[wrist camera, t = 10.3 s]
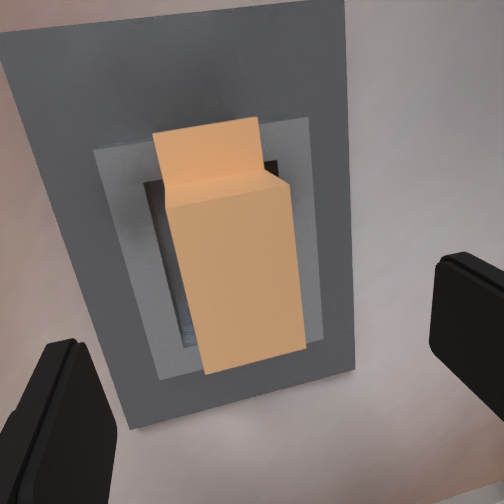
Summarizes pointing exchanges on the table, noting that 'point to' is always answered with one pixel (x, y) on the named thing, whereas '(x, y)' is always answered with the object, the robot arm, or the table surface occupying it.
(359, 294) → the table surface
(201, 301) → the tabbed block
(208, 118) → the pocket plate
